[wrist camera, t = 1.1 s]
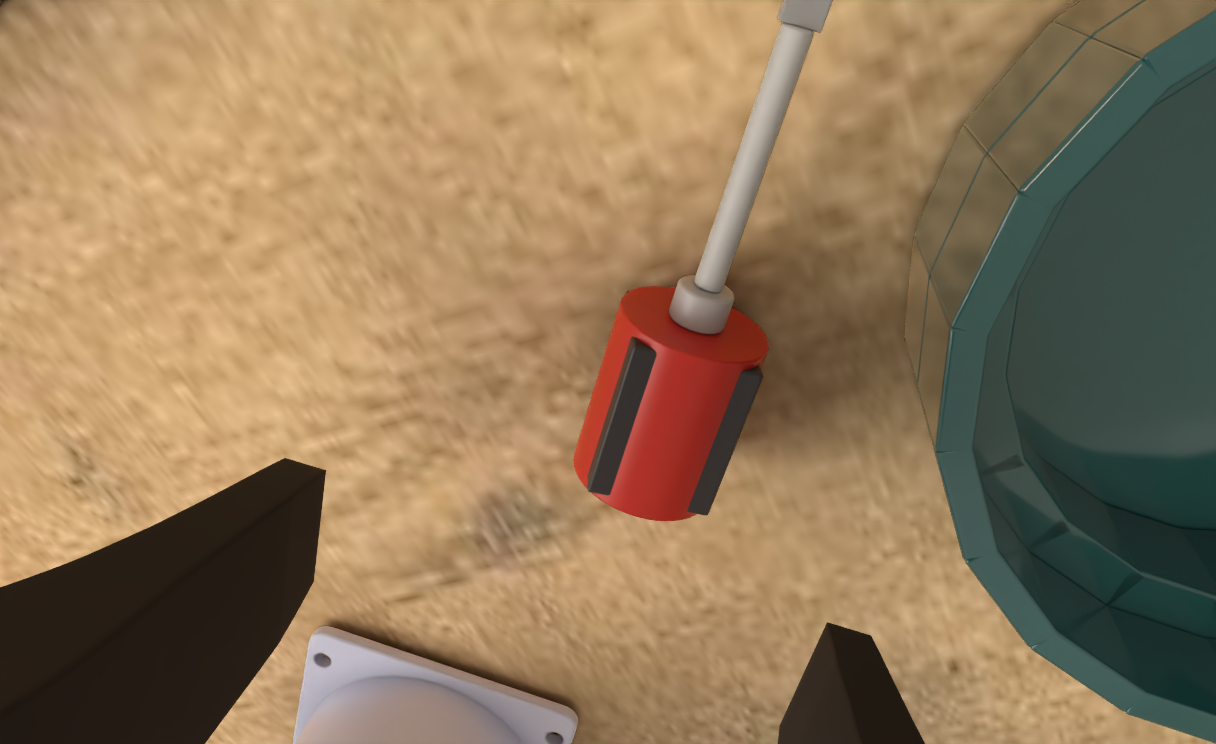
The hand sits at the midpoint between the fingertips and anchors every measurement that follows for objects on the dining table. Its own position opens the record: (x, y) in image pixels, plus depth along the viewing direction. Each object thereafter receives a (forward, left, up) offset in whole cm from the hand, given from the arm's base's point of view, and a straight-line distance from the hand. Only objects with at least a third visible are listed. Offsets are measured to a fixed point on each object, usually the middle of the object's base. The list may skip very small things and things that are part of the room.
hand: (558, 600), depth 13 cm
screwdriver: (+3, -1, -10) cm, 10 cm away
